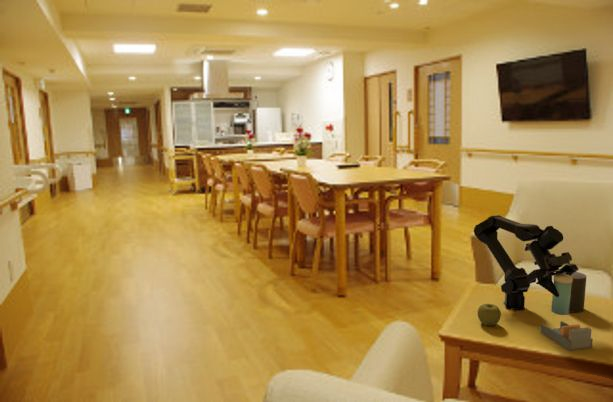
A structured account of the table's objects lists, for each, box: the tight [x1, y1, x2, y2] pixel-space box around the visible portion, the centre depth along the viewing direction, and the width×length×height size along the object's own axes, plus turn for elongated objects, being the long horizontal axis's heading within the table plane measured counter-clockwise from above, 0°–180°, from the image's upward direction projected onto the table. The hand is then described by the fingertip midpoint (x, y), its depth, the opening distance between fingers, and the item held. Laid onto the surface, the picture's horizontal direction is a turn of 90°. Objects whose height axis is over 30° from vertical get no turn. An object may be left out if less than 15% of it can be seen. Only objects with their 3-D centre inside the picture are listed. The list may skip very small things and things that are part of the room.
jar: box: [551, 274, 573, 316], centre depth 170 cm, size 6×6×13 cm
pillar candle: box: [569, 271, 587, 314], centre depth 189 cm, size 10×10×15 cm
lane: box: [539, 320, 594, 352], centre depth 164 cm, size 14×9×6 cm, turn 11°
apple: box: [477, 303, 502, 327], centre depth 177 cm, size 8×8×7 cm
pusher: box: [561, 324, 581, 339], centre depth 162 cm, size 1×6×5 cm, turn 101°
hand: (564, 295), depth 169 cm, fingers closed on jar, 5 cm apart
